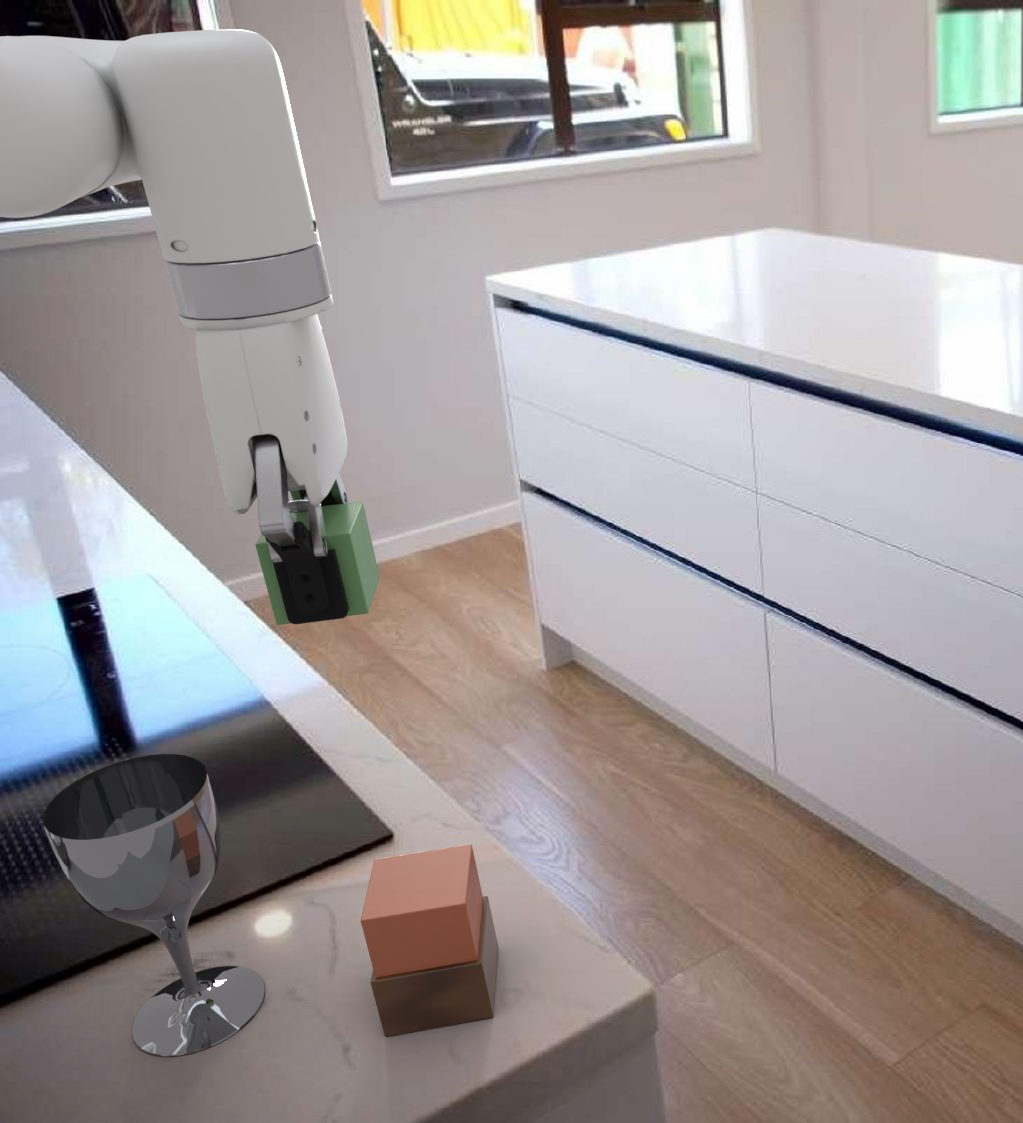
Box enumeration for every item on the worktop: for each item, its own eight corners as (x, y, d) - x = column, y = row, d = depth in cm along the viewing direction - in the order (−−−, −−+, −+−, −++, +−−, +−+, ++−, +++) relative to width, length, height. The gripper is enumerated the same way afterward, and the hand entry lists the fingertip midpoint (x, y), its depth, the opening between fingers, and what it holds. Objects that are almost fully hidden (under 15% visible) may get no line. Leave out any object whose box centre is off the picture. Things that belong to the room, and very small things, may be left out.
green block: (276, 625, 72) (254, 544, 70) (293, 588, 76) (273, 511, 74) (368, 614, 72) (349, 533, 70) (380, 578, 77) (362, 501, 75)
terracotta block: (375, 978, 70) (360, 920, 68) (387, 914, 75) (373, 858, 73) (477, 960, 71) (465, 903, 69) (483, 898, 76) (471, 843, 74)
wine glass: (301, 988, 75) (238, 775, 69) (179, 1082, 69) (98, 857, 63) (217, 946, 79) (151, 740, 73) (94, 1031, 73) (10, 814, 67)
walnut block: (384, 1037, 71) (369, 982, 70) (397, 964, 77) (383, 912, 75) (493, 1018, 72) (481, 963, 71) (498, 947, 78) (487, 894, 76)
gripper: (217, 262, 74) (290, 548, 81) (124, 331, 58) (225, 676, 66) (352, 250, 75) (411, 534, 82) (295, 315, 60) (375, 656, 67)
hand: (328, 594), depth 74 cm, fingers closed on green block, 5 cm apart
